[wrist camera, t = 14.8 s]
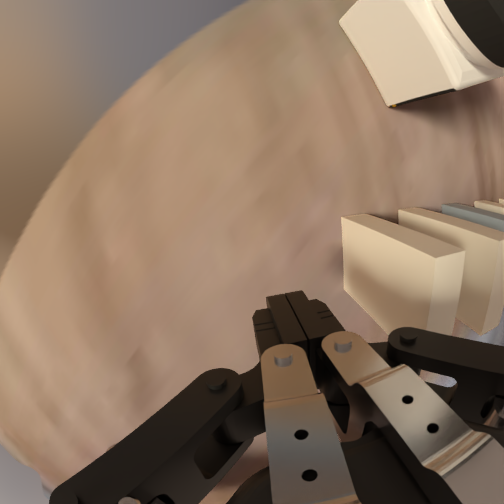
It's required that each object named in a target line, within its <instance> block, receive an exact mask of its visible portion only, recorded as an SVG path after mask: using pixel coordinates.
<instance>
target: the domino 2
mask: <svg viewBox="0 0 504 504" xmlns="http://www.w3.org/2000/svg"><path fill="white" fill-rule="evenodd" d="M442 214H445V215H449V216H452V217H456V218H459V219H463V220H466V221H470V222H473V223H476V224H480V225H483V226H486V227H489V228H492V229H495V230H499V231H502V232H504V215H503V214H499V213H495V212H491V211H487V210H483V209H479V208H475V207H471V206H467V205H463V204H458V203H452V204H442Z"/></svg>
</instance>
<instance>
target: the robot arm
mask: <svg viewBox="0 0 504 504" xmlns="http://www.w3.org/2000/svg"><path fill="white" fill-rule="evenodd" d="M266 302H267V309H261V310H256V311H255V313H254V315H253V317H252V319H253V325H254V331H255V338H256V344H257V349H258V354H259V359H260V361H259V363H258V364H257V365H256V366H255V367H254V368H253V369H251V370H250V371H248V372H246V373H243V374H241V375H239V374H238V373H237V372H235V371H233V370H230V369H225V368H218V369H212V370H209V371H206V372H204V373H203V374H201V375H200V376H198V377H197V378H196V379H195V380H194V381H193V382H192V383H191V384H189V385H188V386H187V387H186V388H185V389H184V390H182V391H181V392H180V393H179V394H178V395H177V396H175V397H174V398H173V399H172V400H171V401H170V402H168V403H167V404H166V405H165V406H164V407H162V408H161V409H160V410H159V411H158V412H156V413H155V414H154V415H153V416H151V417H150V418H149V419H148V420H147V421H145V422H144V423H143V424H142V425H140V426H139V427H138V428H137V429H135V430H134V431H133V432H132V433H130V434H129V435H128V436H126V437H125V438H124V439H123V440H121V441H120V442H119V443H117V444H116V445H114V446H112V447H110V448H109V449H108V450H107V452H106V453H104V454H103V455H102V456H100V457H99V458H98V459H96V460H95V461H93V462H92V463H91V464H89V465H88V466H87V467H85V468H84V469H82V470H81V471H80V472H78V473H77V474H75V475H74V476H72V477H71V478H70V479H68V480H67V481H65V482H64V483H62V484H61V485H59V486H58V487H57V488H56V489H55V490H54V491H53V492H52V494H51V496H50V500H49V504H199V503H200V502H201V500H202V499H203V498H204V497H205V496H206V495H207V494H208V493H209V492H210V491H211V490H212V489H213V488H214V487H215V486H216V485H217V483H218V482H219V481H220V480H221V479H222V478H223V477H224V476H225V475H226V473H227V472H228V471H229V470H230V469H231V468H232V466H233V465H234V464H235V463H236V462H237V461H238V459H239V458H240V457H241V456H242V455H243V453H244V452H245V451H246V450H247V448H248V447H249V446H250V445H251V443H252V442H253V439H254V437H255V436H257V435H259V434H261V433H264V432H266V437H267V448H268V459H269V466H268V467H266V468H264V469H262V470H260V471H259V472H257V473H255V474H254V475H253V476H251V477H250V478H249V479H247V480H246V481H245V482H244V483H243V484H242V485H241V486H240V487H239V488H238V490H237V491H236V492H235V493H234V495H233V496H232V497H231V498H230V500H229V501H228V502H227V503H226V504H504V346H499V345H494V344H488V343H483V342H478V341H473V340H469V339H464V338H459V337H454V336H450V335H445V334H440V333H436V332H431V331H427V330H423V329H418V328H414V327H401V328H397V329H395V330H393V331H392V332H391V333H390V334H389V337H388V342H380V343H367V342H366V341H365V340H364V339H363V338H362V337H361V336H360V335H358V334H356V333H353V332H348V331H345V329H344V328H343V327H342V325H341V324H340V323H339V321H338V320H337V319H336V317H335V316H334V315H333V313H332V312H331V311H330V309H329V308H328V307H327V305H326V304H325V303H323V302H321V301H319V300H317V299H314V300H308V298H307V297H306V295H305V294H304V292H303V291H302V290H301V291H295V292H290V293H285V294H279V295H274V296H268V297H266ZM421 369H422V370H426V371H429V372H433V373H437V374H441V375H445V376H449V377H452V378H454V379H455V380H456V381H457V383H456V384H455V385H454V386H453V387H444V386H440V385H436V384H432V383H428V382H425V381H423V380H422V379H421V378H420V377H419V375H420V371H421ZM317 389H319V390H320V392H321V393H318V390H317ZM337 434H338V435H337ZM338 436H339V438H340V439H341V442H340V441H339V438H338Z"/></svg>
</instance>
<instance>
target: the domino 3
mask: <svg viewBox="0 0 504 504" xmlns="http://www.w3.org/2000/svg"><path fill="white" fill-rule="evenodd" d="M398 225H401V226H404V227H406V228H409V229H412V230H415V231H417V232H420V233H423V234H425V235H428V236H431V237H433V238H436V239H438V240H441V241H443V242H446V243H448V244H451V245H453V246H456V247H458V248H461V249H463V250H465V261H464V269H463V277H462V284H461V290H460V296H459V302H458V307H457V312H456V318H457V319H459V320H460V321H461V322H463V323H464V324H466V325H467V326H468V327H470V328H471V329H472V330H474V331H475V332H476V333H478V334H479V335H480V336H481V335H483V334H485V333H486V332H488V331H490V330H492V329H493V328H495V327H496V326H498V325H499V322H500V318H501V314H502V311H503V307H504V232H502V231H499V230H495V229H492V228H489V227H486V226H483V225H480V224H476V223H473V222H470V221H466V220H463V219H459V218H456V217H452V216H449V215H445V214H441V213H438V212H434V211H430V210H426V209H422V208H418V207H415V208H407V209H398Z"/></svg>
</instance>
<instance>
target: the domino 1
mask: <svg viewBox="0 0 504 504" xmlns="http://www.w3.org/2000/svg"><path fill="white" fill-rule="evenodd" d="M341 222H342V240H343V269H344V290H345V291H346V292H347V293H348V294H349V295H350V296H351V297H352V298H353V299H354V300H355V301H356V302H357V303H358V304H359V305H360V306H361V307H362V308H363V309H364V310H365V311H366V312H367V313H368V314H369V315H370V316H371V317H372V318H373V320H374V321H375V322H376V323H377V324H378V325H379V326H380V327H381V328H382V329H383V330H384V331H385V332H386V333H387V334H388V335H389V334H390V333H391V332H392V331H393V330H395V329H397V328H401V327H414V328H418V329H423V330H427V331H431V332H436V333H440V334H445V335H450V336H451V335H452V331H453V326H454V322H455V317H456V312H457V307H458V302H459V296H460V290H461V284H462V277H463V269H464V261H465V250H463V249H461V248H458V247H456V246H453V245H451V244H448V243H446V242H443V241H441V240H438V239H436V238H433V237H431V236H428V235H425V234H423V233H420V232H417V231H415V230H412V229H409V228H406V227H404V226H401V225H398V224H395V223H392V222H389V221H386V220H384V219H381V218H378V217H375V216H372V215H369V214H358V215H350V216H343V217H341Z"/></svg>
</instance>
